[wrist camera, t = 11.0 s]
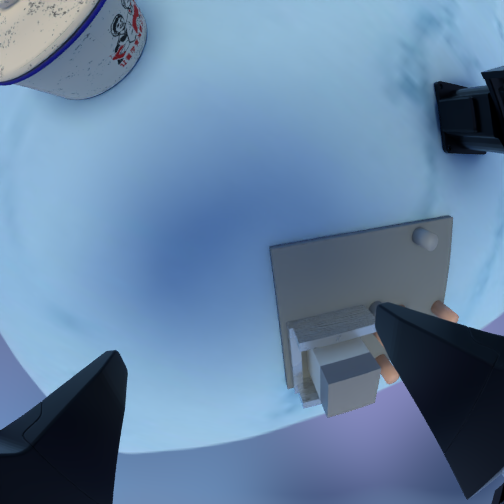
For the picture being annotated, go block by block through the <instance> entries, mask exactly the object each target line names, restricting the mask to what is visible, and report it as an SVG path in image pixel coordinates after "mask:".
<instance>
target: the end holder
mask: <svg viewBox="0 0 504 504" xmlns="http://www.w3.org/2000/svg"><path fill="white" fill-rule="evenodd" d="M286 323H287V332H288V342H289V351H290V361H291V372H292V382H293V388H294V392H295V394H296V393H298V394H299V397H300V400H301V403H302V406H303V408H307V407H311V406H315V405H319V404H322V403H321V401H320V398H319V396H318V393H317V391H316V388H315V386H314V383H313V381H312V378H311V377H307V378H303V372H302V357H301V352H302V351H306V350H311V349H315V348H319V347H323V346H327V345H331V344H335V343H339V342H342V341H346V340H350V339H353V338H357V337H360V336H364V335H367V334H371V333H374V332H376V329H375V317H374V315H373V314H372V313H371V312H370V311H369V310H368V309H367V308H366V306H365V305H364V304H362V305H359V306H355V307H351V308H347V309H343V310H339V311H334V312H330V313H326V314H322V315H317V316H313V317H308V318H304V319H299V320H294V321H289V322H286Z"/></svg>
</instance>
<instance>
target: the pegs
mask: <svg viewBox="0 0 504 504" xmlns="http://www.w3.org/2000/svg"><path fill="white" fill-rule="evenodd" d="M412 241H413V242H414V243H415V244H417V245H419V246H421V247H423V248H425V249H426V250H428V251H433V250H434V249H435V248H436V247H437V244H438V237H437V235H435V234H433V233H431V232H429V231H427V230H425V229H422V228H420V227H418V228H416V229H415V230H414V231H413V233H412ZM378 304H381V302H380V301H376V302H374V303H372V304H371V305H370V307H369V311H370V312H371V313H372V314H373V315H374V317H376V307H377V305H378ZM400 306H403V307H405V306H404V305H402V304H401V305H400ZM431 312H432V313H434V314H435V315H436V316H437V317H438V318H441V319H445V320H448V321H451V322H454V323H457V321H458V318H459V316H458V315H457V314H456V313H455V312H453V311H452V310H451V309H450V308H448V307H447V306H446V305H445V304H443V303H442V302H441V301H439V300H437V301H435V302H434V303H433V305H432V307H431ZM373 335H374V336H375V337H376V338H377V340H378V341H379V342H380V343H381V345H382V346H383V344H382V342H381V340H380V338H379V336H378V334H377V332H374V333H373ZM383 347H384V346H383ZM375 360H376V361H377V363H378V364H379V366H380V367H381V373H380V374H381V375H382V376H383V378H384V379H385V381H386V382H387V384H392V383H394V382H395V381H397V379H398V378H399V374H398V373H397V371H396V370H395V368H394V367H393V365H392V364H391V362H390V361H389V360H388V358H387V357H386V356H385V355H384V354H382V355H379V356H377V357H376V358H375Z"/></svg>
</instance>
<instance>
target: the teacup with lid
mask: <svg viewBox="0 0 504 504" xmlns="http://www.w3.org/2000/svg"><path fill="white" fill-rule="evenodd" d="M146 35H147V28H146V22H145V19H144V17H143V15H142V13H141V11H140V9H139V8H138V6H137V4H136V2H135V1H134V0H0V85H11V84H16V85H20V86H24V87H28V88H31V89H35V90H39V91H42V92H46V93H49V94H53V95H56V96H59V97H63V98H66V99H72V100H80V99H87V98H90V97H94V96H96V95H99V94H101V93H103V92H105V91H106V90H108V89H110V88H111V87H113V86H114V85H115V84H117V83H118V82H119V81H120V80H121V79H123V78H124V77H125V76H126V75H127V73H128V72H129V71H130V70H131V69H132V67H133V66H134V65H135V63H136V62H137V60H138V58H139V57H140V55H141V53H142V50H143V48H144V45H145V41H146Z"/></svg>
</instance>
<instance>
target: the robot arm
mask: <svg viewBox="0 0 504 504" xmlns="http://www.w3.org/2000/svg"><path fill="white" fill-rule="evenodd" d="M481 74H482V76H483V79H485V81H486V84H487V86H478V87H471V88H467V87H463V86H459V85H455V84H451V83H446V82H441V81H438V82H436V83H435V91H436V96H437V102H438V109H439V116H440V123H441V132H442V142H443V150H444V152H446V153H457V154H486V151H487V152H496V153H503V154H504V66H501V67H498V68H494V69H491V70H487V71H484V72H481ZM439 86H440V87H439ZM448 147H449V148H448ZM375 329H376V332H377V334H378V336H379V338H380V340H381V342H382V344H383V346H384V348H385V350H386V352H387V355H388V357H389V359H390V361H391V363H392V364H393V366H394V368H395V370H396V371H397V373H398V374H399V376H400V378H401V379H402V381H403V383H404V384H405V386H406V387H407V389H408V391H409V393H410V394H411V396H412V398H413V399H414V401H415V403H416V404H417V406H418V408H419V410H420V411H421V413H422V415H423V416H424V418H425V420H426V422H427V424H428V426H429V427H430V429H431V431H432V433H433V434H434V436H435V438H436V440H437V442H438V444H439V445H440V447H441V449H442V451H443V453H445V454H444V455H445V457H446V459H447V461H448V463H449V464H450V467H451V469H452V471H453V473H454V475H455V477H456V479H457V481H458V483H459V485H460V487H461V489H462V491H463V493H464V495H465V497H466V499H467V500H468V499H469V498H471V497H472V496H473V495H475V494H476V493H478V492H479V491H480V490H482V489H483V488H484V487H486V486H487V485H488V484H490V483H491V482H492V481H493V480H495V479H496V478H497V477H498V476H499V475H501V474H503V476H504V336H501V335H496V334H492V333H488V332H484V331H481V330H477V329H474V328H471V327H467V326H464V325H461V324H458V323H454V322H451V321H448V320H445V319H441V318H438V317H435V316H432V315H428V314H425V313H422V312H419V311H416V310H412V309H409V308H406V307H403V306H400V305H396V304H393V303H390V302H385V303H381V304H378V305H377V307H376V317H375ZM127 376H128V372H127V368H126V366H125V364H124V362H123V360H122V358H121V356H120V354H119V352H118V351H116V350H113V351H106V352H105V353H103V354H102V355H101V356H99V357H98V358H97V359H95V360H94V361H93V362H92V363H90V364H89V365H88V366H86V367H85V368H84V369H82V370H81V371H80V372H79V373H77V374H76V375H75V376H73V377H72V378H71V379H69V380H68V381H67V382H66V383H64V384H63V385H62V386H60V387H59V388H58V389H57V390H55V391H54V392H53V393H51V394H50V395H49V396H48V397H46V398H45V399H44V400H43V401H42V402H40V403H39V404H37V405H36V406H35V407H33V408H32V409H31V410H29V411H28V412H27V413H25V414H24V415H23V416H21V417H20V418H18V419H17V420H15V421H14V422H12V423H11V424H9V425H8V426H6V427H5V428H3V429H2V430H0V504H112V503H113V491H114V481H115V472H116V464H117V455H118V449H119V442H120V436H121V429H122V423H123V417H124V411H125V401H126V388H127ZM492 504H504V483H503V484H502V485H501V486H500V487H499V488H498V489H496V490H495V493H494V497H493V501H492Z"/></svg>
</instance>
